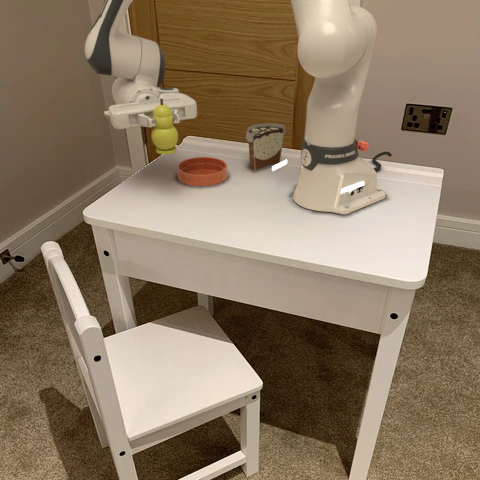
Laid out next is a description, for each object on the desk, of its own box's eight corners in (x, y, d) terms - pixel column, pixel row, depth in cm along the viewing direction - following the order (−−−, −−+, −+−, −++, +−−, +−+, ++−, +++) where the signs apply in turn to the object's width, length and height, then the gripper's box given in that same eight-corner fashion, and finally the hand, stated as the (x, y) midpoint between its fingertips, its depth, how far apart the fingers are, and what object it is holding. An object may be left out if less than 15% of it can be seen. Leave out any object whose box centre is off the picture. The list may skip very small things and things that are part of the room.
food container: (269, 155, 142) (270, 119, 135) (284, 161, 138) (286, 125, 132) (236, 166, 135) (236, 128, 129) (250, 172, 132) (251, 134, 125)
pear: (173, 145, 116) (169, 93, 109) (183, 153, 112) (179, 100, 105) (149, 149, 114) (143, 97, 107) (158, 157, 110) (152, 103, 103)
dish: (214, 164, 136) (214, 153, 134) (235, 181, 127) (235, 169, 125) (170, 173, 132) (169, 162, 130) (189, 190, 123) (188, 179, 121)
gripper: (99, 97, 112) (116, 112, 102) (182, 87, 119) (206, 100, 110) (103, 125, 116) (121, 143, 106) (184, 114, 123) (207, 129, 114)
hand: (165, 121), depth 108 cm, fingers closed on pear, 4 cm apart
